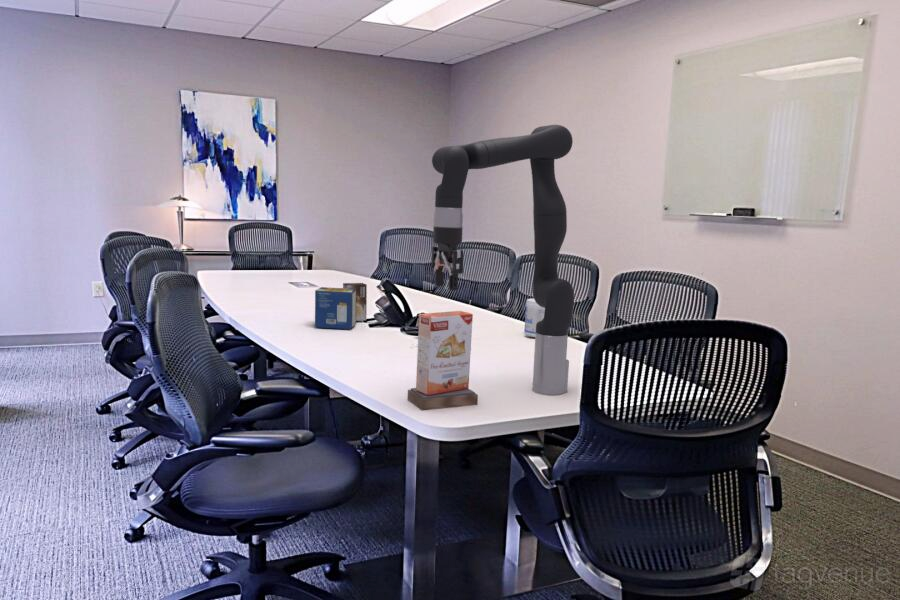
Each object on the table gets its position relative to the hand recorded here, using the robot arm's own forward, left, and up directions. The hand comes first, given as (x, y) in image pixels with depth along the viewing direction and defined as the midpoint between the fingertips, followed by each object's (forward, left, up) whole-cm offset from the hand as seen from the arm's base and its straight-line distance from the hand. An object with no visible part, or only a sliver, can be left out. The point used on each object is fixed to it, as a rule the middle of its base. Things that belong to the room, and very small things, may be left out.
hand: (445, 287), depth 178 cm
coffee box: (-16, -125, -31) cm, 130 cm away
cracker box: (0, 0, -28) cm, 28 cm away
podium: (0, 0, -31) cm, 31 cm away
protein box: (-4, -113, -31) cm, 117 cm away
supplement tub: (-77, -73, -31) cm, 110 cm away
